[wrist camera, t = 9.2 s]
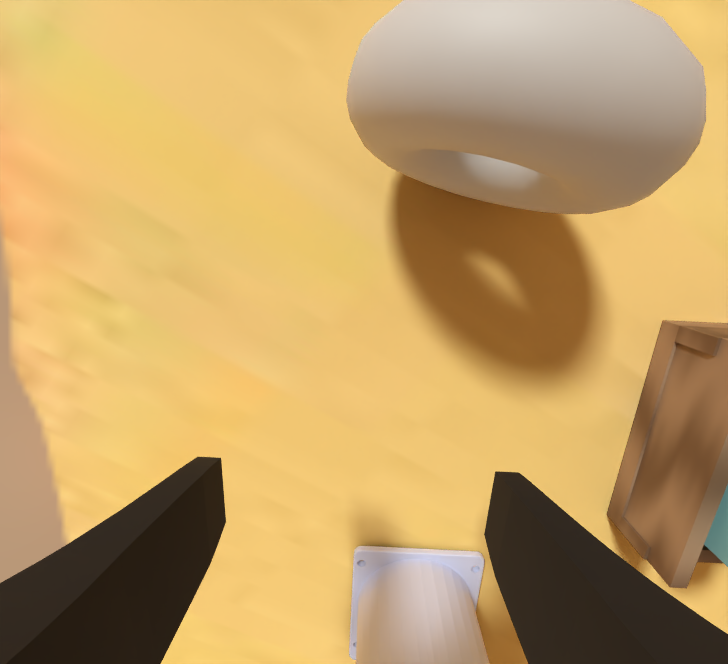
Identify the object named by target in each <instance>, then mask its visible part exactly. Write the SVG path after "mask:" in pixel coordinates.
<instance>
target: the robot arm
mask: <svg viewBox="0 0 728 664" xmlns="http://www.w3.org/2000/svg"><path fill="white" fill-rule="evenodd" d="M225 523H226V517H225V504H224V491H223V478H222V465H221V458H211V457H197V458H195V459H194V460H192V461H191V462H189V463H188V464H186V465H185V466H183V467H182V468H180V469H179V470H178V471H176V472H175V473H173V474H172V475H170V476H169V477H168V478H166V479H165V480H163V481H162V482H161V483H159V484H158V485H156V486H155V487H153V488H152V489H151V490H149V491H148V492H146V493H145V494H143V495H142V496H140V497H139V498H138V499H136V500H135V501H133V502H132V503H130V504H129V505H127V506H126V507H125V508H123V509H122V510H120V511H119V512H117V513H116V514H114V515H112V516H111V517H109V518H108V519H106V520H105V521H103V522H102V523H100V524H99V525H97V526H95V527H94V528H92V529H91V530H89V531H88V532H86V533H85V534H83V535H81V536H80V537H78V538H77V539H75V540H74V541H72V542H71V543H69V544H67V545H66V546H64V547H62V548H61V549H59V550H58V551H56V552H54V553H53V554H51V555H49V556H47V557H46V558H44V559H42V560H41V561H39V562H37V563H35V564H34V565H32V566H30V567H28V568H26V569H25V570H23V571H21V572H19V573H18V574H16V575H14V576H12V577H11V578H9V579H7V580H5V581H3V582H2V583H0V664H161V662H162V660H163V658H164V656H165V654H166V652H167V650H168V648H169V646H170V644H171V642H172V640H173V638H174V636H175V634H176V632H177V630H178V628H179V626H180V624H181V622H182V620H183V618H184V616H185V614H186V612H187V610H188V608H189V606H190V604H191V602H192V600H193V598H194V596H195V594H196V592H197V590H198V588H199V586H200V584H201V582H202V580H203V578H204V576H205V574H206V572H207V569H208V567H209V565H210V563H211V561H212V558H213V556H214V553H215V550H216V548H217V545H218V542H219V539H220V537H221V534H222V531H223V528H224V525H225ZM484 535H485V539H486V543H487V547H488V551H489V555H490V559H491V562H492V566H493V570H494V573H495V577H496V580H497V583H498V585H499V588H500V591H501V593H502V596H503V599H504V601H505V604H506V607H507V609H508V612H509V615H510V617H511V620H512V622H513V625H514V628H515V630H516V633H517V635H518V638H519V641H520V643H521V646H522V648H523V651H524V654H525V656H526V659H527V661H528V664H728V634H727V633H725V632H724V631H722V630H721V629H719V628H717V627H716V626H714V625H713V624H711V623H710V622H709V621H707V620H706V619H704V618H703V617H701V616H700V615H699V614H697V613H696V612H694V611H693V610H691V609H690V608H688V607H687V606H686V605H684V604H683V603H681V602H680V601H678V600H677V599H676V598H674V597H673V596H671V595H670V594H668V593H667V592H666V591H664V590H663V589H661V588H660V587H659V586H657V585H656V584H655V583H653V582H652V581H651V580H649V579H648V578H647V577H645V576H644V575H643V574H641V573H640V572H639V571H637V570H636V569H635V568H634V567H632V566H631V565H630V564H628V563H627V562H626V561H624V560H623V559H622V558H621V557H619V556H618V555H617V554H615V553H614V552H613V551H612V550H610V549H609V548H608V547H607V546H605V545H604V544H603V543H602V542H600V541H599V540H598V539H597V538H596V537H594V536H593V535H592V534H591V533H590V532H588V531H587V530H586V529H585V528H584V527H582V526H581V525H580V524H579V523H578V522H576V521H575V520H574V519H573V518H572V517H571V516H569V515H568V514H567V513H566V512H565V511H564V510H562V509H561V508H560V507H559V506H558V505H557V504H555V503H554V502H553V501H552V500H551V499H550V498H548V497H547V496H546V495H545V494H544V493H543V492H542V491H540V490H539V489H538V488H537V487H536V486H535V485H533V484H532V483H531V482H530V481H529V480H527V479H526V478H525V477H524V476H522V475H521V474H520V473H515V472H495V477H494V483H493V488H492V494H491V500H490V505H489V511H488V517H487V523H486V528H485V534H484ZM360 560H363V561H360ZM484 563H485V562H484V558H483V555H482V554H481V553H480V552H476V551H458V550H438V549H418V548H398V547H378V546H359V547H357V548H356V549H355V550H354V563H353V583H352V604H351V625H350V646H349V656H350V657H351V658H352V659H353V660H356V664H490V663H489V659H488V656H487V652H486V648H485V645H484V641H483V638H482V634H481V630H480V627H479V623H478V619H477V616H476V607H477V602H478V596H479V590H480V585H481V579H482V574H483V568H484ZM473 566H475V567H473Z"/></svg>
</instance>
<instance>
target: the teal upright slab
mask: <svg viewBox="0 0 728 664" xmlns="http://www.w3.org/2000/svg"><path fill="white" fill-rule="evenodd" d="M704 545H705V546H706V547H707V548H708V549H709V550H710V551H712V552H713V553H714V554H715V555H716V556H717V557H718V558H719V559H720V560H721V561H722V562H723V563H724V564H725V565H726V566H727V567H728V484H727V487H726V490H725V492H724V495H723V497H722V500H721V502H720V505H719V507H718V510H717V512H716V515H715V518H714V520H713V523H712V525H711V528H710V530H709V533H708V535H707V538H706V540H705V543H704Z"/></svg>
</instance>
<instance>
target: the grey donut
mask: <svg viewBox="0 0 728 664" xmlns="http://www.w3.org/2000/svg"><path fill="white" fill-rule="evenodd" d="M347 106H348V111H349V116H350V120H351V122H352V124H353V125H354V127H355V129H356V131H357V133H358V135H359V137H360V139H361V140H362V142H363V144H364V146H365V147H366V148H367V149H368V150H369V151H370V152H371V153H372V154H373V155H374V156H376V157H377V158H378V159H379V160H381V161H382V162H383V163H385V164H386V165H387V166H389V167H391V168H393V169H395V170H396V171H398V172H400V173H402V174H404V175H406V176H408V177H411V178H413V179H416V180H418V181H420V182H423V183H425V184H428V185H430V186H433V187H436V188H439V189H442V190H445V191H449V192H452V193H455V194H458V195H462V196H465V197H469V198H473V199H476V200H480V201H484V202H489V203H494V204H498V205H503V206H507V207H513V208H519V209H525V210H532V211H538V212H548V213H560V214H593V213H598V212H602V211H607V210H612V209H616V208H621V207H626V206H630V205H632V204H634V203H636V202H638V201H640V200H642V199H644V198H646V197H648V196H650V195H651V194H652V193H653V192H654V191H655V190H657V189H658V188H659V187H660V186H661V185H662V184H664V183H665V182H666V181H667V180H668V179H669V178H671V177H672V176H673V175H674V174H675V173H676V172H677V171H679V170H680V169H681V168H682V167H683V166H684V165H685V164H686V162H687V161H688V159H689V158H690V156H691V155H692V153H693V152H694V151H695V149H696V148H697V146H698V145H699V142H700V139H701V135H702V132H703V128H704V125H705V121H706V86H705V78H704V70H703V66H702V65H701V64H700V62H699V61H698V60H697V59H696V57H695V56H694V55H693V54H692V53H691V51H690V50H689V49H688V48H687V46H686V45H685V44H684V43H683V42H682V40H681V39H680V38H679V37H678V36H677V34H676V33H675V32H674V31H673V30H672V28H671V27H670V26H669V25H668V24H667V22H666V21H665V20H664V19H663V18H662V17H661V16H659V15H657V14H655V13H653V12H651V11H649V10H647V9H645V8H643V7H642V6H640V5H638V4H636V3H634V2H632V1H630V0H403V1H402V2H401V3H400V4H398V5H397V6H396V7H395V8H393V9H392V10H391V11H390V12H388V13H387V14H386V15H385V16H383V17H382V18H381V19H380V20H379V21H377V22H376V23H375V24H374V25H373V26H372V28H371V29H370V30H369V31H368V32H367V34H366V35H365V36H364V37H363V39H362V40H361V43H360V45H359V48H358V51H357V53H356V56H355V58H354V61H353V65H352V69H351V73H350V76H349V80H348V89H347Z"/></svg>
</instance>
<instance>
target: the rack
mask: <svg viewBox="0 0 728 664" xmlns="http://www.w3.org/2000/svg"><path fill="white" fill-rule="evenodd" d="M727 484H728V324H727V323H706V322H685V321H664V320H663V322H662V326H661V329H660V332H659V336H658V339H657V343H656V346H655V350H654V353H653V357H652V360H651V364H650V367H649V371H648V374H647V377H646V381H645V384H644V388H643V391H642V395H641V398H640V402H639V405H638V409H637V412H636V416H635V419H634V422H633V426H632V429H631V433H630V436H629V440H628V443H627V447H626V450H625V454H624V457H623V461H622V464H621V467H620V471H619V474H618V478H617V481H616V485H615V488H614V492H613V495H612V499H611V502H610V506H609V509H608V512H607V515H608V517H609V518H610V519H611V520H612V521H613V523H614V524H615V525H616V526H617V527H618V529H619V530H620V531H621V532H622V534H623V535H624V536H625V537H626V538H627V540H628V541H629V542H630V543H631V544H632V546H633V547H634V548H635V549H636V550H637V552H638V553H639V554H640V555H641V557H642V558H643V559H647V560H648V562H649V563H650V564H651V565H652V566H653V568H654V569H655V570H656V571H657V572H658V574H659V575H660V576H661V577H662V578H663V580H664V581H665V582H666V583H667V584H668V586H669V587H674V588H687V586H688V584H689V581H690V579H691V576H692V573H693V571H694V568H695V566H696V563H697V562H710V563H723V562H722V561H721V560H720V559H719V558H718V557H717V556H716V555H715V554H714V553H713V552H712V551H710V550H709V549H708V548H707V547H706V546H705V545H704V543H705V540H706V538H707V535H708V533H709V530H710V528H711V525H712V523H713V520H714V518H715V515H716V512H717V510H718V507H719V505H720V502H721V500H722V497H723V495H724V492H725V490H726V487H727Z"/></svg>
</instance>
